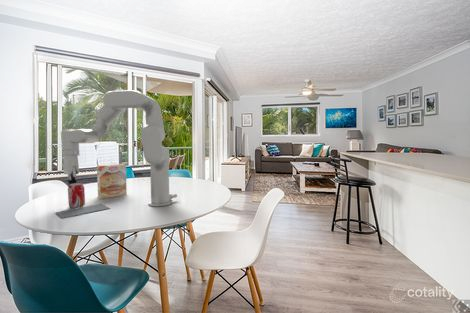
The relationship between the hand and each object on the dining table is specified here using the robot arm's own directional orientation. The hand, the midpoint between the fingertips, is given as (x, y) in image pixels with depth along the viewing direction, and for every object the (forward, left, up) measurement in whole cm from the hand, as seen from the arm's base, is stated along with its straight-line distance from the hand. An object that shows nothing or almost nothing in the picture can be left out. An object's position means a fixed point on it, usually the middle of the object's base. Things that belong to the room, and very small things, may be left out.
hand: (72, 187), depth 125 cm
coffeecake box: (-22, -5, -10) cm, 25 cm away
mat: (0, +17, -10) cm, 20 cm away
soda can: (0, +7, -10) cm, 12 cm away
